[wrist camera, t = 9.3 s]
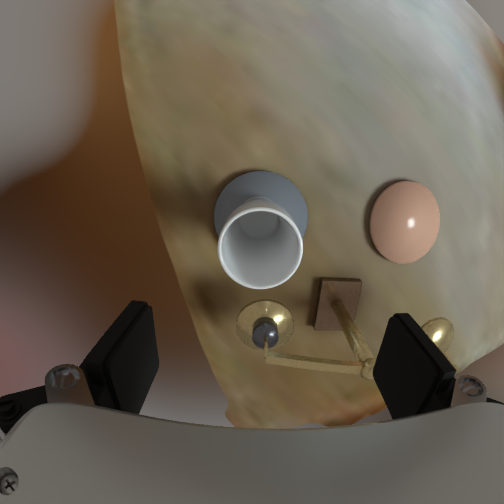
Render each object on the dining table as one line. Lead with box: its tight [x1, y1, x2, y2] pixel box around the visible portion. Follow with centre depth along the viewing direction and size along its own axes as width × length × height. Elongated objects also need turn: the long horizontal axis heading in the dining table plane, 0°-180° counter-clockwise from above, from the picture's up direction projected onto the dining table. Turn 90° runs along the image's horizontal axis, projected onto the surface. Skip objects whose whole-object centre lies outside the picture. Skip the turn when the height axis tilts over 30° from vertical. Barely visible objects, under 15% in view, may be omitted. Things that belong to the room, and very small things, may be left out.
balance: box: [236, 277, 458, 380], centre depth 32 cm, size 8×29×18 cm, turn 87°
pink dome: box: [369, 181, 440, 264], centre depth 37 cm, size 12×12×1 cm
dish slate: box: [214, 171, 308, 238], centre depth 37 cm, size 12×12×1 cm
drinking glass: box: [218, 196, 303, 289], centre depth 29 cm, size 7×7×15 cm
